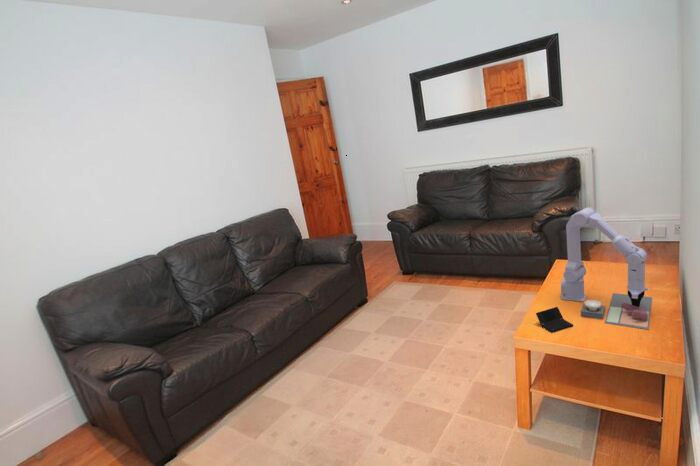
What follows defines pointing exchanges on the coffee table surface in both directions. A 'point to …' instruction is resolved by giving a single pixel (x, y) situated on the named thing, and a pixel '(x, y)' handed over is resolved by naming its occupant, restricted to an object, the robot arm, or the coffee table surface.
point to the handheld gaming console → (553, 320)
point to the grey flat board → (620, 315)
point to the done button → (593, 304)
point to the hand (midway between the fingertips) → (635, 306)
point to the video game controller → (635, 311)
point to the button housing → (593, 312)
